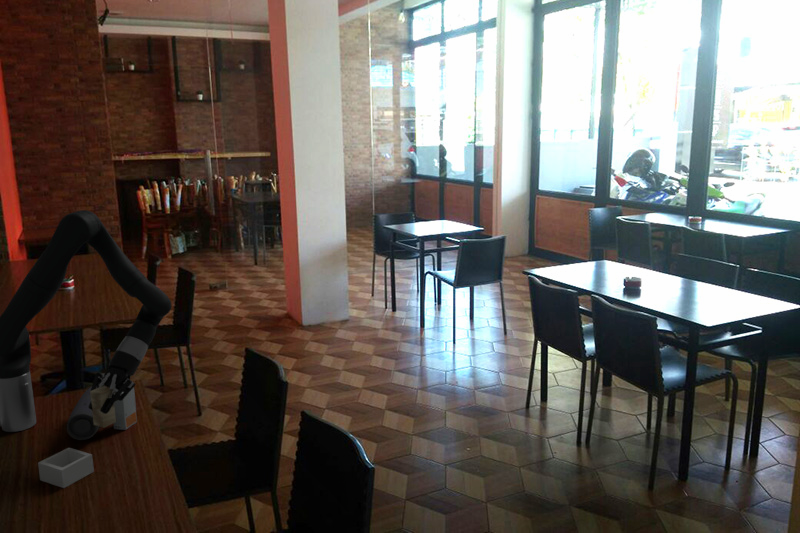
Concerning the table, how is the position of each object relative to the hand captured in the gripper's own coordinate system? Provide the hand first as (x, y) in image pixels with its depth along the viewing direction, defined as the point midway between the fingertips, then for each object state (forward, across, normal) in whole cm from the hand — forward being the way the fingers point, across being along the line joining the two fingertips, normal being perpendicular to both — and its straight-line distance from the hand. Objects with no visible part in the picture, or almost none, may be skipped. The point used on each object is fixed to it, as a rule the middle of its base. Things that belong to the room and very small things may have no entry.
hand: (97, 410), depth 174 cm
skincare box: (-2, -10, +22) cm, 24 cm away
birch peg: (+2, 0, +5) cm, 5 cm away
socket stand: (+18, 0, +2) cm, 18 cm away
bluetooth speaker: (+2, -18, +19) cm, 26 cm away
